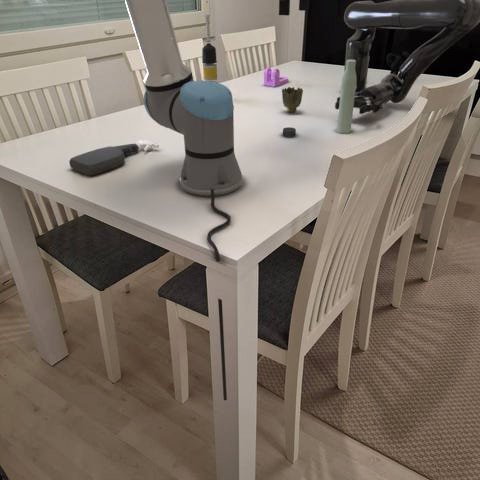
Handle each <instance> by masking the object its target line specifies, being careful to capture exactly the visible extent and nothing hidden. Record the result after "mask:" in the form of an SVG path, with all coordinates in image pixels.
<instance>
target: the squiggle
mask: <svg viewBox="0 0 480 480" xmlns="http://www.w3.org/2000/svg"><path fill="white" fill-rule="evenodd" d="M410 55H411V54H410V53H409V52H408V51H403V53H402V54H401V55H396V54H394V53H392V52H390V53H387V55H386V57H385V61H386V64H387V67H390V68H391V70H390V72H389V74H395V75H397V76H398V77H399V79H400V80H401V81H402V82H403V78H402V76H401V74H400V71H399V70H400V67H401V66H402V64H403V63H404V62H405V61H406V60H407V59H408V58H409V57H410ZM401 57H402V59H401ZM391 59H392V60H391ZM393 60H394V61H393Z"/></svg>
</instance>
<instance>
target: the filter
mask: <svg viewBox="0 0 480 480" xmlns="http://www.w3.org/2000/svg"><path fill="white" fill-rule="evenodd" d="M210 17H211V14H204V18H205V27H206V29H205V30H206V31H205V33H206V39H207V40H206V42H207V43H206V45H204V46H202V49H201V50H202V51H201V52H202V54H201V55H202V57H201V58H202V61H201V63H202V71H203V72H202V73H203V74H202V75H203V81H208V82H217V83H219V82H218V81H216V80H218V64H216V63H218V61H217V48H216V47H215V46H214V45H212V43H210V42H211V40H210V39H211V31H210V29H211V28H210Z"/></svg>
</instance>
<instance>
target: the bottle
mask: <svg viewBox="0 0 480 480" xmlns="http://www.w3.org/2000/svg"><path fill="white" fill-rule="evenodd" d="M355 65H356V60H347V61H346V70H345V72H344V71H343V74H342V77H341V84H340V95H339V97H340V103H339V109H338V114H337V125H336V132H337V133H339V134H349V133H351V132H352V131H351V130H352V123H353V114H354V108H353V107H354V98H355V96H356V95H355V89H356V81H357V77H356V70H355Z"/></svg>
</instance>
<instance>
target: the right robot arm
mask: <svg viewBox="0 0 480 480" xmlns="http://www.w3.org/2000/svg"><path fill="white" fill-rule="evenodd" d="M343 20H344V22H345V24H346V25H347V27H348V28H350V29H353V30H355V33H354V34H352V36H351V37H349V38H348V39H347V41H346V49H345V58H344V59H345V60H344V69H343V73H344V72H345V70H346V61H347V60H356V65H355V70H356V77H357V81H356V89H355V98H354V107H353V109H359V112H358V114H360V115H364V114H365V113H370V112H372V113H374V114H376V113H378V112H379V111H381V110H383V107H384V104H387V103H389V102H391V103H392V104H399V103H401V102H403V101H404V100H405V99H406V97H408V95H409V92H410V90H411V89H412V87H413V85H414V84H415V82H416V81H417V79H418V78H420V76H421V75H422V74H423V73H424V72H425V71H426V69H427V68H429V67H430V66H431V64H433V62H434V61H435V60H437V59H438V58H439V57H440V56H441V55H442V54H443V53H444V52H446V51H447V50H448V49H449V48H451V46H453V45H455V43H456V42H457V41H459V40H460V39H461V38H463V37H464V36H465V35H466V34H468V33H469V32H471V31H472V29H474V28H475V27H476V26H477V25H478V24H479V23H480V0H387V1H381V2H378V3H375V2H374V1H373V0H361V1H354V2H352V3H350V4H349V5H348V6H347V7H346V9H345V11H344V14H343ZM424 26H432V27H440V28H443V29H442V30H441V31H439V33H437V34H436V35H434V37H432V38H431V39H429V40H427V41H426V42H425V43H423V44H421V45H420V46H419V47H418V48H417V49H415V50H414V51H413V52H412V53H411V54H410V57H409V58H408V59H407V60H406V61H405V62H404V63H403V64H402V66H401V67H400V68H399V73H400V74H401V76H402V78H403V79H402V81H401V80H400V79H399V77H398V75H395V74H390V73H389V74H387V75H385V76H384V77H383V78H382V80H381V81H380V82H379V83H377V84H374V85H371V86H368V87H367V81H368V72H369V63H370V57H371V48H372V43H373V41H374V39H375V36H376V35H375V34H376V30H377V28H382V29H392V30H414V29H418V28H421V27H424ZM339 103H340V96H338V97H337V98H336V102H335V103H334V108H335V110H339Z"/></svg>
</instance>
